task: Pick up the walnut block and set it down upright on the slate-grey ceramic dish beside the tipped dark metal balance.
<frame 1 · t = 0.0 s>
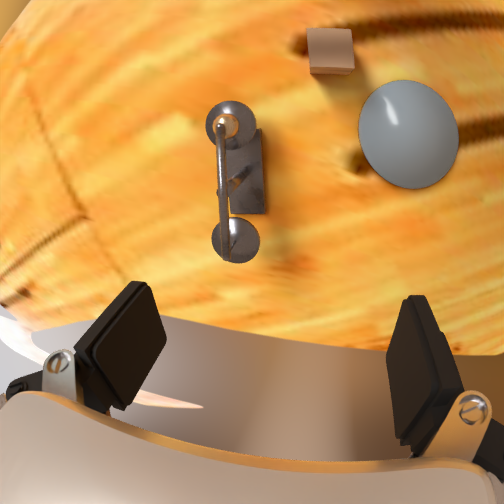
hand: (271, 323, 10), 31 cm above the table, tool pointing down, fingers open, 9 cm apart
balance: (245, 171, 39), on the table
walnut block: (328, 57, 29), on the table
dish: (409, 133, 31), on the table
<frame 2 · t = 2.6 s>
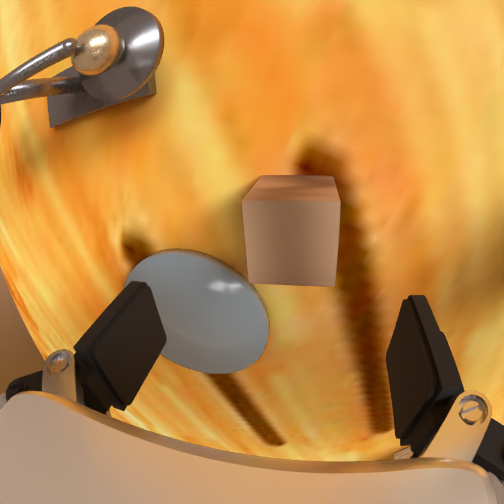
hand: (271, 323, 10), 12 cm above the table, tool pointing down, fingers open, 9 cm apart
balance: (96, 84, 18), on the table
walnut block: (297, 208, 20), on the table
dish: (194, 316, 27), on the table
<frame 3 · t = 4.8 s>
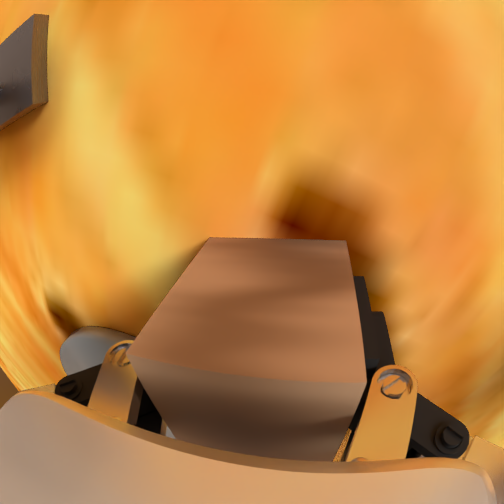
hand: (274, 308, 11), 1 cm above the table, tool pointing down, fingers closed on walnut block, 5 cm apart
walnut block: (277, 295, 11), on the table, touching gripper
dish: (146, 399, 18), on the table
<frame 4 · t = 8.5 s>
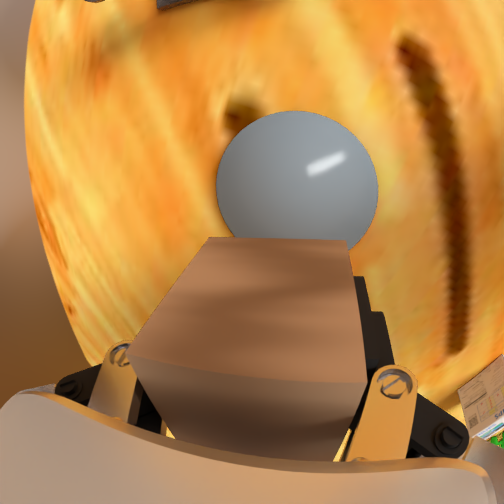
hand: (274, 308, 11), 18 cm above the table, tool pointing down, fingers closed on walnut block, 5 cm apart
light bulb box: (485, 376, 33), on the table
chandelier: (497, 437, 43), on the table
walnut block: (277, 295, 11), point 17 cm above the table, touching gripper
dish: (297, 190, 26), on the table
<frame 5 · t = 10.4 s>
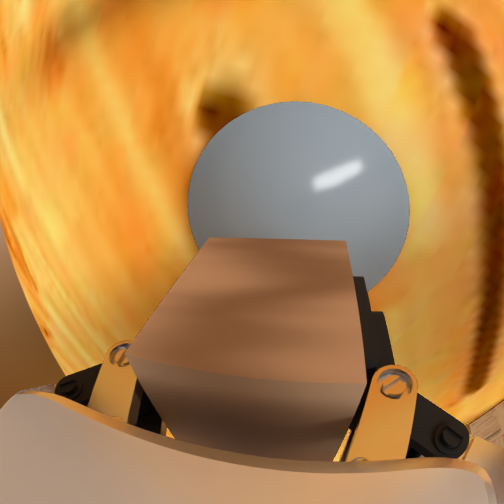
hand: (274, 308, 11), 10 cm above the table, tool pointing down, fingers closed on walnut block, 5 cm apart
light bulb box: (499, 408, 26), on the table
walnut block: (277, 295, 11), point 9 cm above the table, touching gripper
dish: (298, 213, 19), on the table
when the fingers open (3 cm above the table, at t = 12.0 s): walnut block drops 1 cm, resting on dish.
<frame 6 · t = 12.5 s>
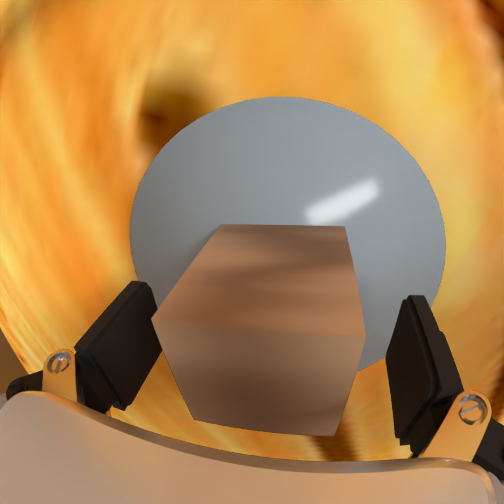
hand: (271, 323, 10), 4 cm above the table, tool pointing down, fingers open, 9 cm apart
walnut block: (283, 278, 12), point 1 cm above the table, touching dish
dish: (284, 265, 13), on the table
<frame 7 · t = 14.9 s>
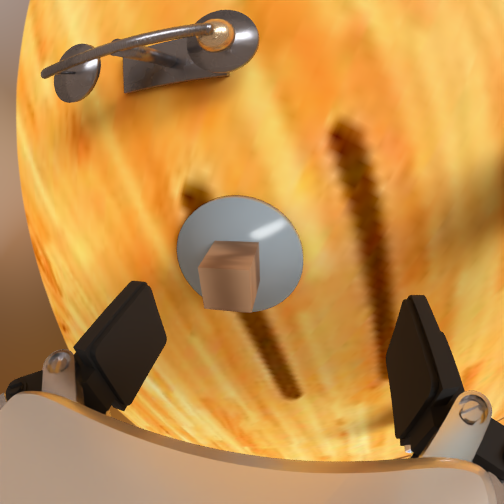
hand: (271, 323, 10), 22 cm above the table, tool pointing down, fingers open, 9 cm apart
balance: (174, 62, 24), on the table
walnut block: (238, 260, 33), point 1 cm above the table, touching dish
dish: (239, 256, 34), on the table
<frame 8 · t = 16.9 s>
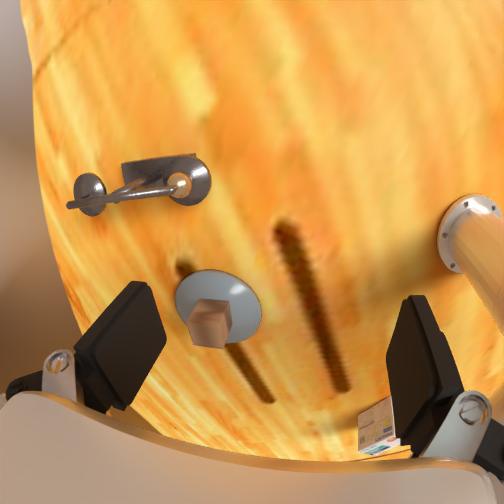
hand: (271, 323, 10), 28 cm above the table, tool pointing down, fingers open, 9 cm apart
balance: (159, 174, 39), on the table
light bulb box: (381, 408, 54), on the table
walnut block: (216, 311, 47), point 1 cm above the table, touching dish
dish: (218, 307, 48), on the table
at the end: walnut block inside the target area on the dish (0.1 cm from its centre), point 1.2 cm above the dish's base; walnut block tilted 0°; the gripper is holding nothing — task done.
